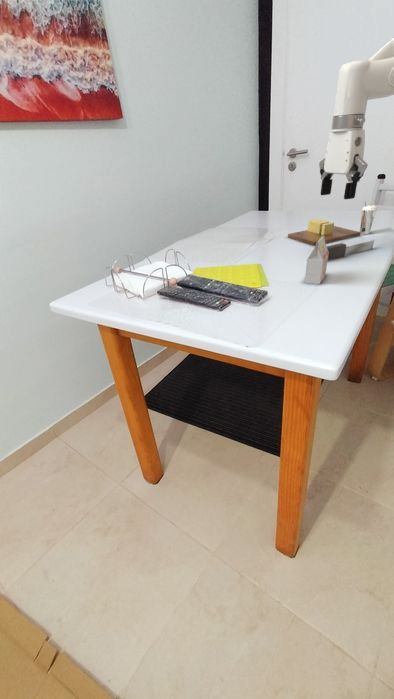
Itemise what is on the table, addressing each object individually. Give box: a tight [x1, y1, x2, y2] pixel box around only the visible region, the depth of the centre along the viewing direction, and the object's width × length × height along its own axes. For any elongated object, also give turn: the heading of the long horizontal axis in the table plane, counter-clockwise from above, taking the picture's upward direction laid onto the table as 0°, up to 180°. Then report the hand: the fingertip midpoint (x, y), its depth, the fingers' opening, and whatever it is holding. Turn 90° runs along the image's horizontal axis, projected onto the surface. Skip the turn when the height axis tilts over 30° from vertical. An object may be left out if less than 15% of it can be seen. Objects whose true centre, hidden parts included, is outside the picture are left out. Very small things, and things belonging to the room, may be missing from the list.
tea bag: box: [304, 236, 329, 285], centre depth 84 cm, size 4×7×10 cm, turn 151°
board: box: [287, 225, 361, 247], centre depth 119 cm, size 20×14×1 cm
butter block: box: [307, 218, 330, 234], centre depth 120 cm, size 4×6×4 cm, turn 24°
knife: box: [326, 240, 375, 261], centre depth 100 cm, size 21×2×4 cm, turn 114°
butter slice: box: [321, 221, 335, 235], centre depth 116 cm, size 4×1×4 cm, turn 114°
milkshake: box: [359, 200, 378, 235], centre depth 117 cm, size 4×5×10 cm
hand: (336, 196), depth 95 cm, fingers open, 9 cm apart
